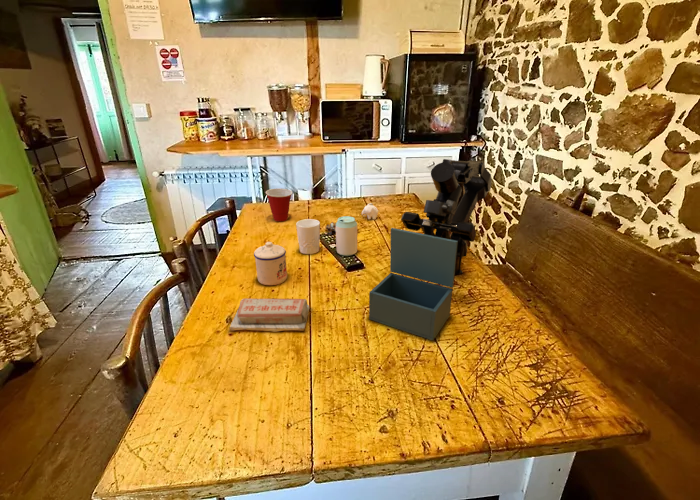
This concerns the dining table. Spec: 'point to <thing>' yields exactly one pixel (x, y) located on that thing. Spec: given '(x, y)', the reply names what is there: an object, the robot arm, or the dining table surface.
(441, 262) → the lid
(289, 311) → the packaged product
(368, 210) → the elephant figurine
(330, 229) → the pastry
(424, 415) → the dining table surface
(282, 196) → the plastic cup
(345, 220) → the can
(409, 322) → the box
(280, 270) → the teacup with lid
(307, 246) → the white cup
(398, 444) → the dining table surface
